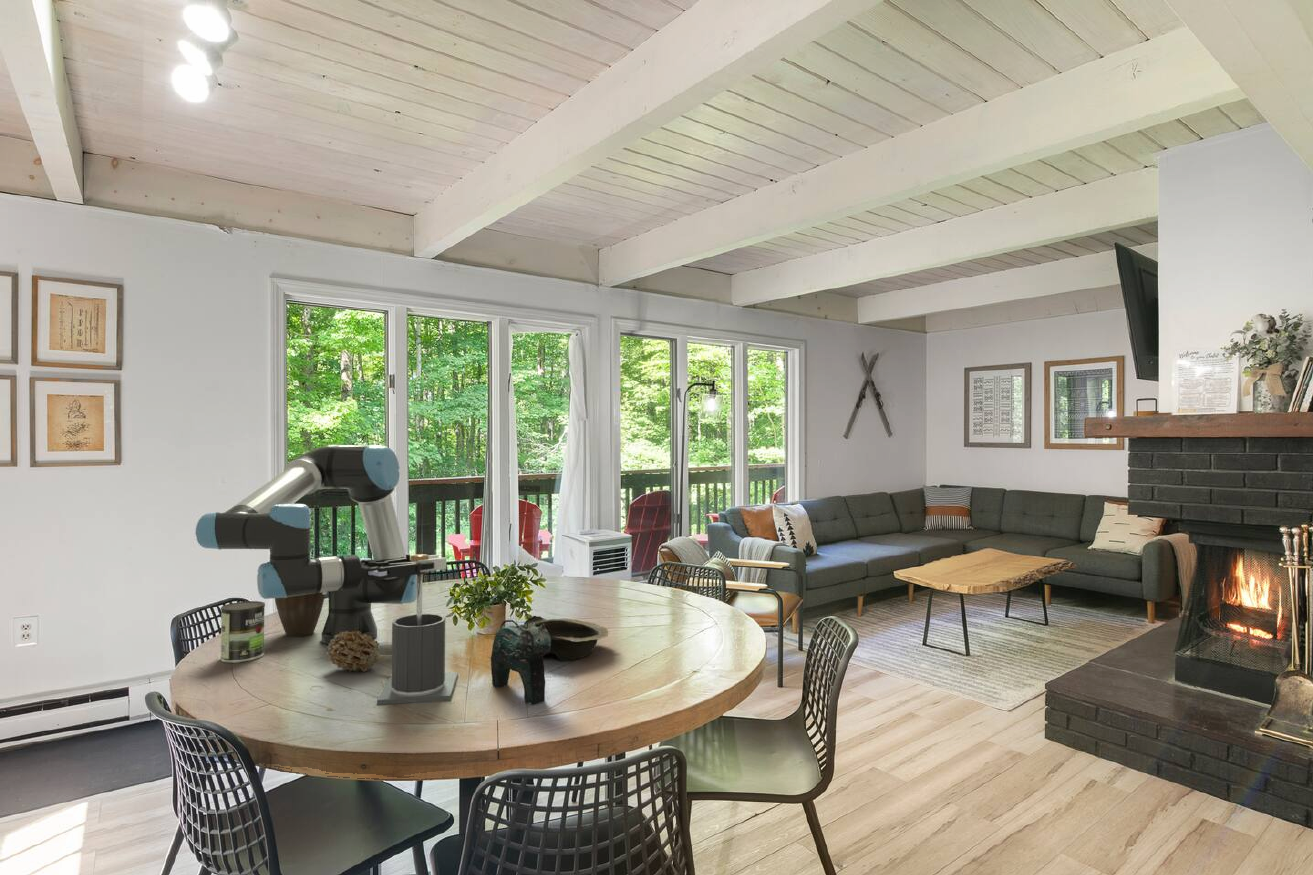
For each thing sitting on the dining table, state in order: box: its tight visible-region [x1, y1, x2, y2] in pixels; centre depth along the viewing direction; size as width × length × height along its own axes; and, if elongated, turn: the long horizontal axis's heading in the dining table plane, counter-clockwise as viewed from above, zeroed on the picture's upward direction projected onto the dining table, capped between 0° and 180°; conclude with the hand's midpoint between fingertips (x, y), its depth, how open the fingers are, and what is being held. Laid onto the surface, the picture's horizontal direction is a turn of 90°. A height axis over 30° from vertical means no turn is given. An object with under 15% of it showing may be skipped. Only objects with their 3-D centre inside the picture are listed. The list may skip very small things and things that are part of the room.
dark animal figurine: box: [490, 609, 551, 706], centre depth 162 cm, size 20×6×20 cm, turn 44°
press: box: [376, 613, 459, 705], centre depth 164 cm, size 16×16×17 cm
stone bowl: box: [519, 615, 609, 662], centre depth 193 cm, size 25×25×9 cm
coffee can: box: [220, 600, 266, 664], centre depth 186 cm, size 10×10×14 cm
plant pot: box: [274, 593, 326, 638], centre depth 209 cm, size 15×15×16 cm
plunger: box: [410, 553, 430, 626], centre depth 162 cm, size 9×9×27 cm
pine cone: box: [326, 631, 392, 672], centre depth 176 cm, size 22×10×10 cm, turn 84°
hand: (441, 561), depth 166 cm, fingers closed on plunger, 4 cm apart
